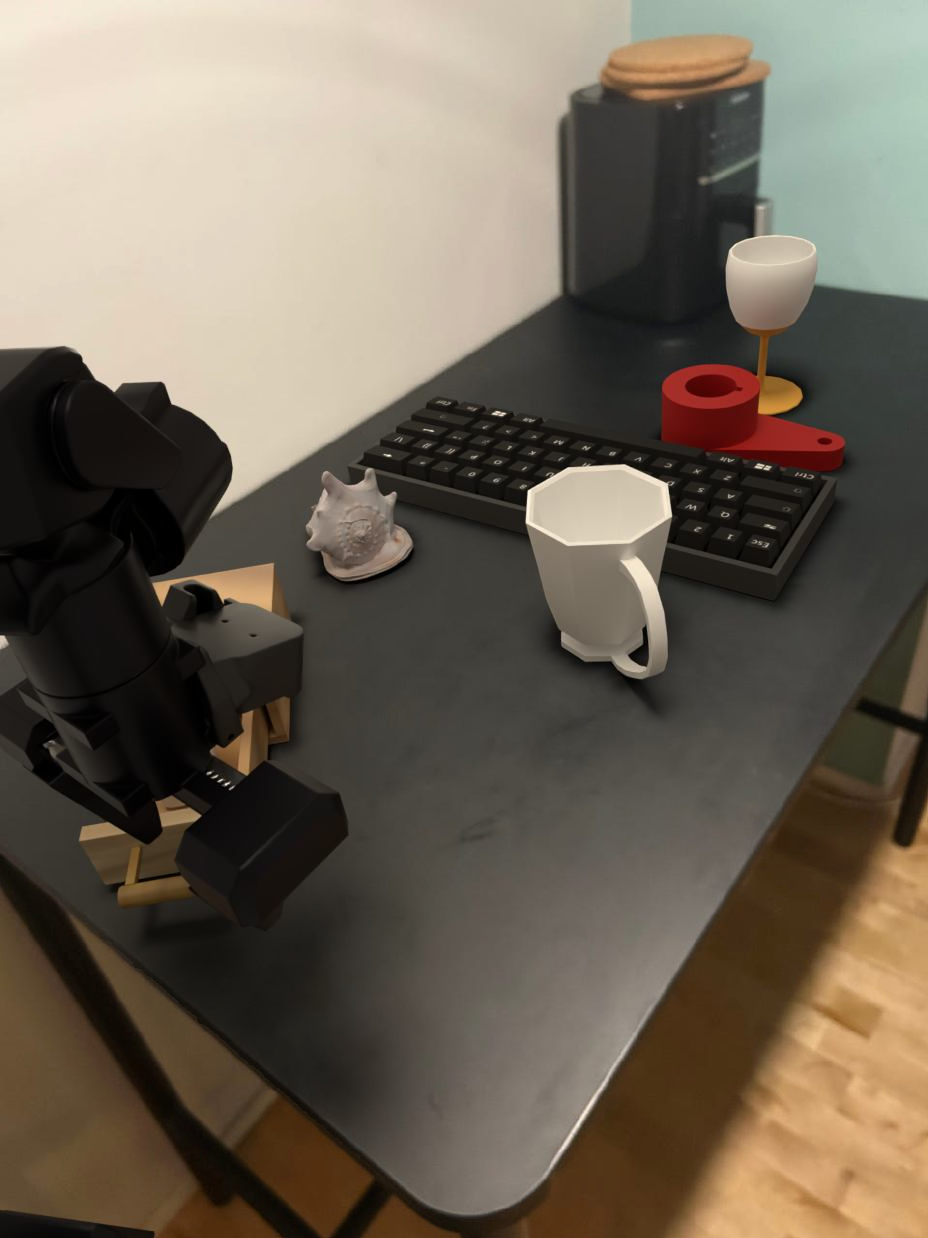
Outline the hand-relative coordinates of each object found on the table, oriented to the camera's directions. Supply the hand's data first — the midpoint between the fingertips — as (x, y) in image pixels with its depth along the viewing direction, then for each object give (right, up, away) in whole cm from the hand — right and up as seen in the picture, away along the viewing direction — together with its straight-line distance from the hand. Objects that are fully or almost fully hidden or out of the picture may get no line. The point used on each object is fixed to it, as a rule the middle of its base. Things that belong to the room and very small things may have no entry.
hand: (209, 878), depth 49 cm
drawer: (-6, -1, +19) cm, 20 cm away
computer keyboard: (+24, +25, +47) cm, 58 cm away
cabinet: (-8, +7, +31) cm, 32 cm away
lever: (+42, +30, +49) cm, 71 cm away
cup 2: (+45, +38, +58) cm, 82 cm away
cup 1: (+25, +10, +29) cm, 39 cm away
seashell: (+2, +20, +44) cm, 48 cm away
